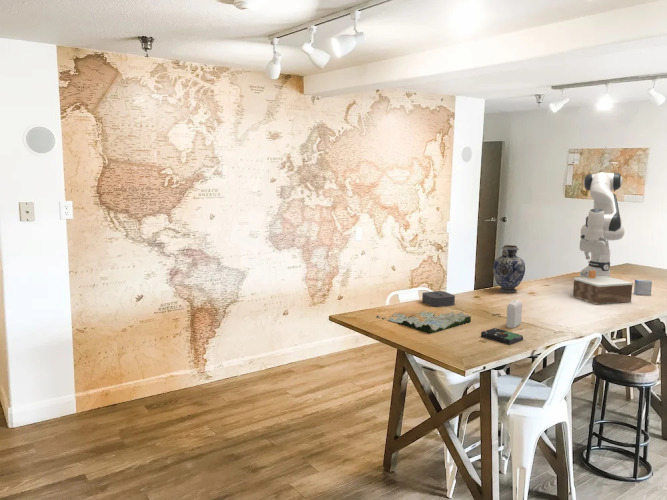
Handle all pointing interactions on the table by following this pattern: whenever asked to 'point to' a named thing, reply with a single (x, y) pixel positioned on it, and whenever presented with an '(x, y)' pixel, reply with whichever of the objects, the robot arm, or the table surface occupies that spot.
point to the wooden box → (602, 293)
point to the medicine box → (642, 287)
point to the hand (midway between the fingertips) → (593, 260)
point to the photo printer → (514, 314)
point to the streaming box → (438, 298)
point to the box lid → (602, 280)
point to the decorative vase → (509, 269)
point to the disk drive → (502, 336)
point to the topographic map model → (432, 321)
